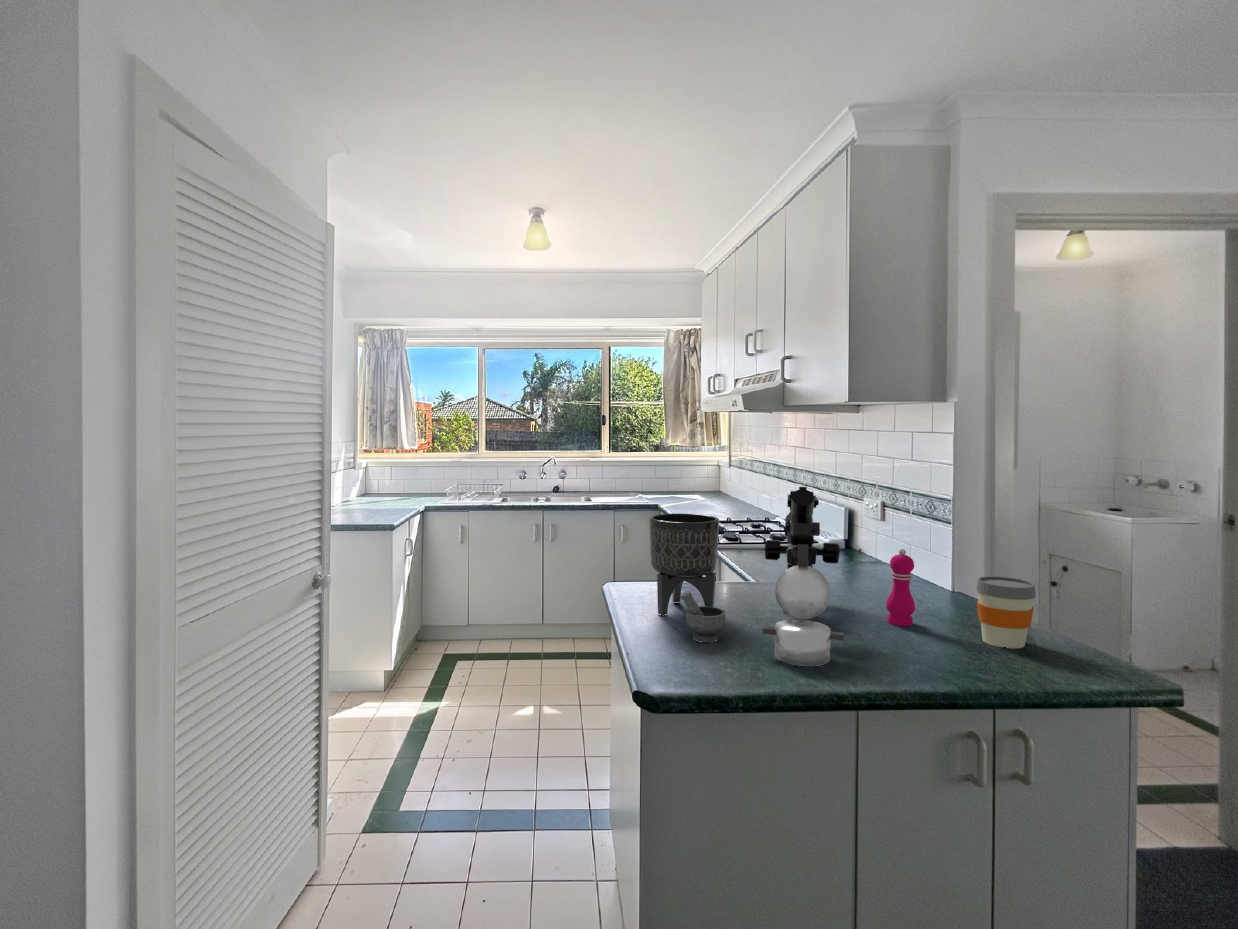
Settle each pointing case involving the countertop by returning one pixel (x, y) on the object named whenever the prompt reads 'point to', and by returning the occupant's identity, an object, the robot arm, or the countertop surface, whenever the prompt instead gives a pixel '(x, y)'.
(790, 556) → the robot arm
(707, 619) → the mortar and pestle
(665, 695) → the countertop surface
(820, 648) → the steel pot
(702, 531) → the planter
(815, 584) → the steel lid
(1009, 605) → the reusable coffee cup
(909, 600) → the pepper mill
